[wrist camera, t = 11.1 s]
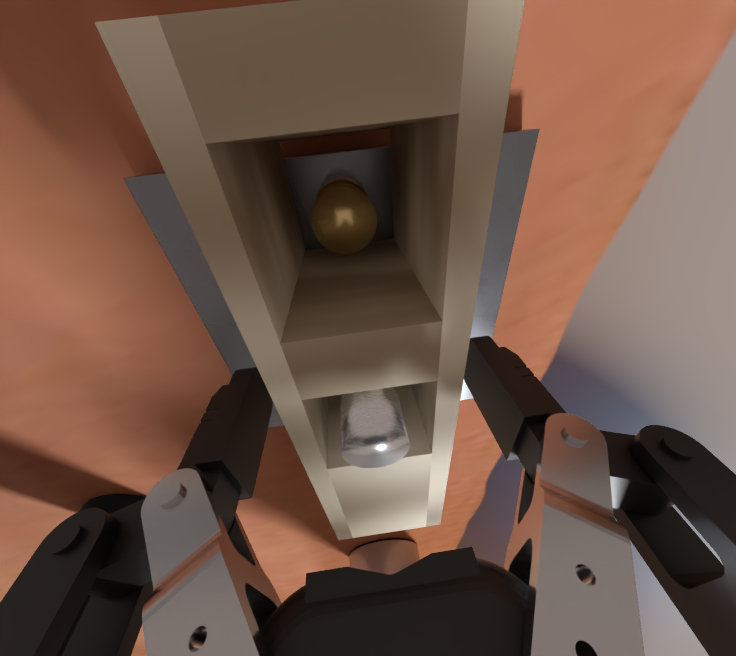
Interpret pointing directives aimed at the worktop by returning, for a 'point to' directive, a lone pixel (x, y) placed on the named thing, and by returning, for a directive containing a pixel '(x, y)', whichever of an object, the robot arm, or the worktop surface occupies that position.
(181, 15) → the bar
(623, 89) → the worktop surface
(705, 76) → the worktop surface
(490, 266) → the mounting plate
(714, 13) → the worktop surface
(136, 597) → the robot arm
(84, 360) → the worktop surface
